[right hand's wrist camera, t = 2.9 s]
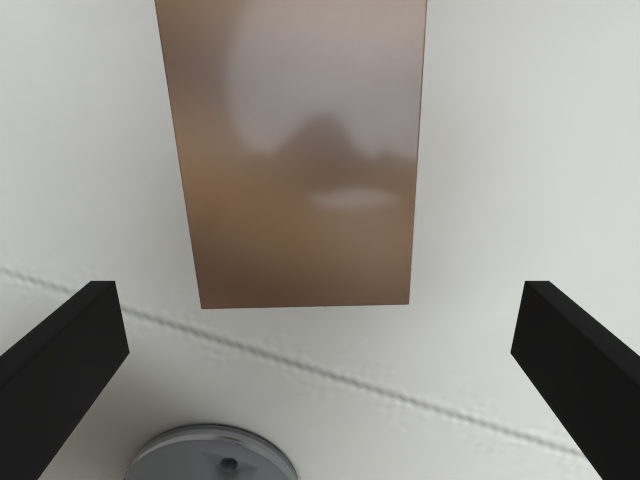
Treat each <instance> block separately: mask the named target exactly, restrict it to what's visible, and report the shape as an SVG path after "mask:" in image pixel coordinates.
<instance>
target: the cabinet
mask: <svg viewBox="0 0 640 480" xmlns="http://www.w3.org/2000/svg"><path fill="white" fill-rule="evenodd" d="M155 6H156V13H157V20H158V26H159V33H160V39H161V46H162V53H163V59H164V66H165V72H166V79H167V85H168V92H169V99H170V105H171V112H172V118H173V125H174V132H175V138H176V145H177V151H178V158H179V165H180V171H181V178H182V184H183V191H184V197H185V204H186V211H187V217H188V224H189V230H190V237H191V244H192V250H193V257H194V263H195V270H196V277H197V283H198V290H199V296H200V303H201V308H202V309H223V308H268V307H314V306H360V305H406V304H409V295H410V278H411V262H412V245H413V228H414V212H415V195H416V179H417V162H418V145H419V129H420V112H421V96H422V79H423V62H424V46H425V29H426V12H427V0H155Z"/></svg>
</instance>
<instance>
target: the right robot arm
mask: <svg viewBox="0 0 640 480" xmlns="http://www.w3.org/2000/svg"><path fill="white" fill-rule="evenodd" d="M128 354H129V348H128V343H127V338H126V333H125V328H124V323H123V318H122V313H121V309H120V304H119V299H118V294H117V289H116V284H115V281H90V282H89V283H88V284H87V285H85V286H84V287H83V288H82V289H81V290H79V291H78V292H77V293H76V294H75V295H73V296H72V297H71V298H70V299H69V300H67V301H66V302H65V303H64V304H63V305H61V306H60V307H59V308H58V309H57V310H55V311H54V312H53V313H52V314H51V315H49V316H48V317H47V318H46V319H45V320H43V321H42V322H41V323H40V324H39V325H37V326H36V327H35V328H34V329H33V330H31V331H30V332H29V333H28V334H27V335H25V336H24V337H23V338H22V339H20V340H19V341H18V342H17V343H16V344H14V345H13V346H12V347H11V348H10V349H8V350H7V351H6V352H5V353H4V354H2V355H1V356H0V480H38V478H39V477H40V475H41V474H42V473H43V471H44V470H45V469H46V467H47V466H48V464H49V463H50V462H51V460H52V459H53V458H54V456H55V455H56V453H57V452H58V451H59V449H60V448H61V447H62V445H63V444H64V442H65V441H66V440H67V438H68V437H69V436H70V434H71V433H72V431H73V430H74V429H75V427H76V426H77V425H78V423H79V422H80V420H81V419H82V418H83V416H84V415H85V414H86V412H87V411H88V409H89V408H90V407H91V405H92V404H93V402H94V401H95V400H96V398H97V397H98V396H99V394H100V393H101V391H102V390H103V389H104V387H105V386H106V385H107V383H108V382H109V380H110V379H111V378H112V376H113V375H114V374H115V372H116V371H117V369H118V368H119V367H120V365H121V364H122V363H123V361H124V360H125V358H126V357H127V356H128ZM511 354H512V356H513V357H514V358H515V360H516V361H517V363H518V364H519V365H520V367H521V368H522V369H523V371H524V372H525V374H526V375H527V376H528V378H529V379H530V380H531V382H532V383H533V385H534V386H535V387H536V389H537V390H538V391H539V393H540V394H541V396H542V397H543V398H544V400H545V401H546V403H547V404H548V405H549V407H550V408H551V409H552V411H553V412H554V414H555V415H556V416H557V418H558V419H559V420H560V422H561V423H562V425H563V426H564V427H565V429H566V430H567V431H568V433H569V434H570V436H571V437H572V438H573V440H574V441H575V442H576V444H577V445H578V447H579V448H580V449H581V451H582V452H583V453H584V455H585V456H586V458H587V459H588V460H589V462H590V463H591V464H592V466H593V467H594V469H595V470H596V471H597V473H598V474H599V475H600V477H601V478H602V480H640V356H639V355H638V354H636V353H635V352H634V351H633V350H632V349H630V348H629V347H628V346H627V345H626V344H624V343H623V342H622V341H621V340H620V339H618V338H617V337H616V336H615V335H613V334H612V333H611V332H610V331H609V330H607V329H606V328H605V327H604V326H603V325H601V324H600V323H599V322H598V321H597V320H595V319H594V318H593V317H592V316H591V315H589V314H588V313H587V312H586V311H585V310H583V309H582V308H581V307H580V306H579V305H577V304H576V303H575V302H574V301H573V300H571V299H570V298H569V297H568V296H567V295H565V294H564V293H563V292H562V291H561V290H559V289H558V288H557V287H556V286H555V285H553V284H552V283H551V282H550V281H525V284H524V289H523V294H522V299H521V304H520V309H519V313H518V318H517V323H516V328H515V333H514V338H513V343H512V348H511ZM124 480H298V478H297V475H296V473H295V470H294V469H293V467H292V465H291V464H290V462H289V461H288V460H287V458H286V457H285V456H284V455H283V454H282V453H281V452H280V451H279V450H278V449H276V448H275V447H274V446H272V445H271V444H270V443H268V442H266V441H265V440H263V439H261V438H259V437H257V436H255V435H253V434H250V433H248V432H245V431H242V430H239V429H235V428H231V427H225V426H217V425H194V426H186V427H182V428H177V429H174V430H171V431H168V432H166V433H163V434H161V435H159V436H157V437H155V438H154V439H152V440H151V441H149V442H148V443H147V444H146V445H145V446H144V447H143V448H142V449H141V450H140V451H139V452H138V453H137V455H136V456H135V458H134V460H133V462H132V464H131V466H130V468H129V470H128V472H127V474H126V476H125V478H124Z"/></svg>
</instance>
